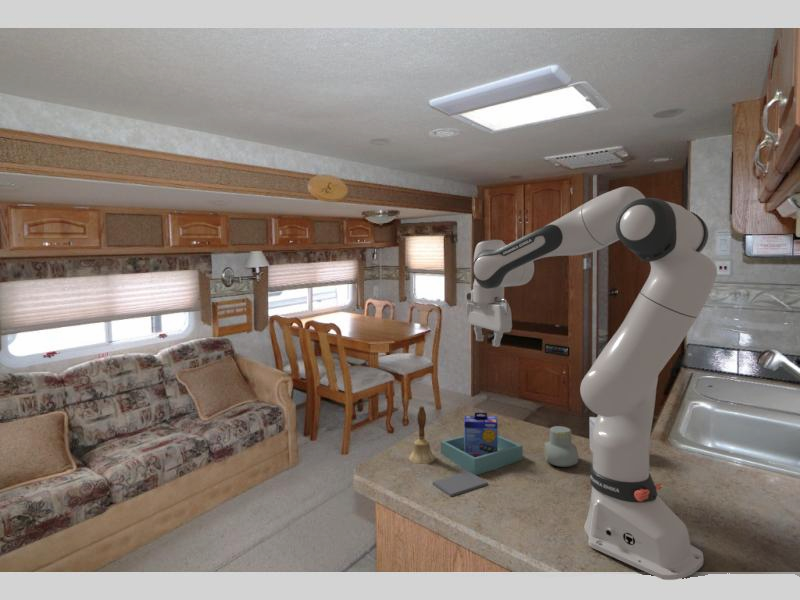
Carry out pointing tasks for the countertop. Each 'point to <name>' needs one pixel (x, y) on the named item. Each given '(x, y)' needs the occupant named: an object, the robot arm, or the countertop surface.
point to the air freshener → (560, 448)
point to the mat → (459, 483)
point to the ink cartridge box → (480, 434)
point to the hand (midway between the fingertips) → (487, 343)
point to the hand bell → (421, 443)
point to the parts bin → (486, 462)
